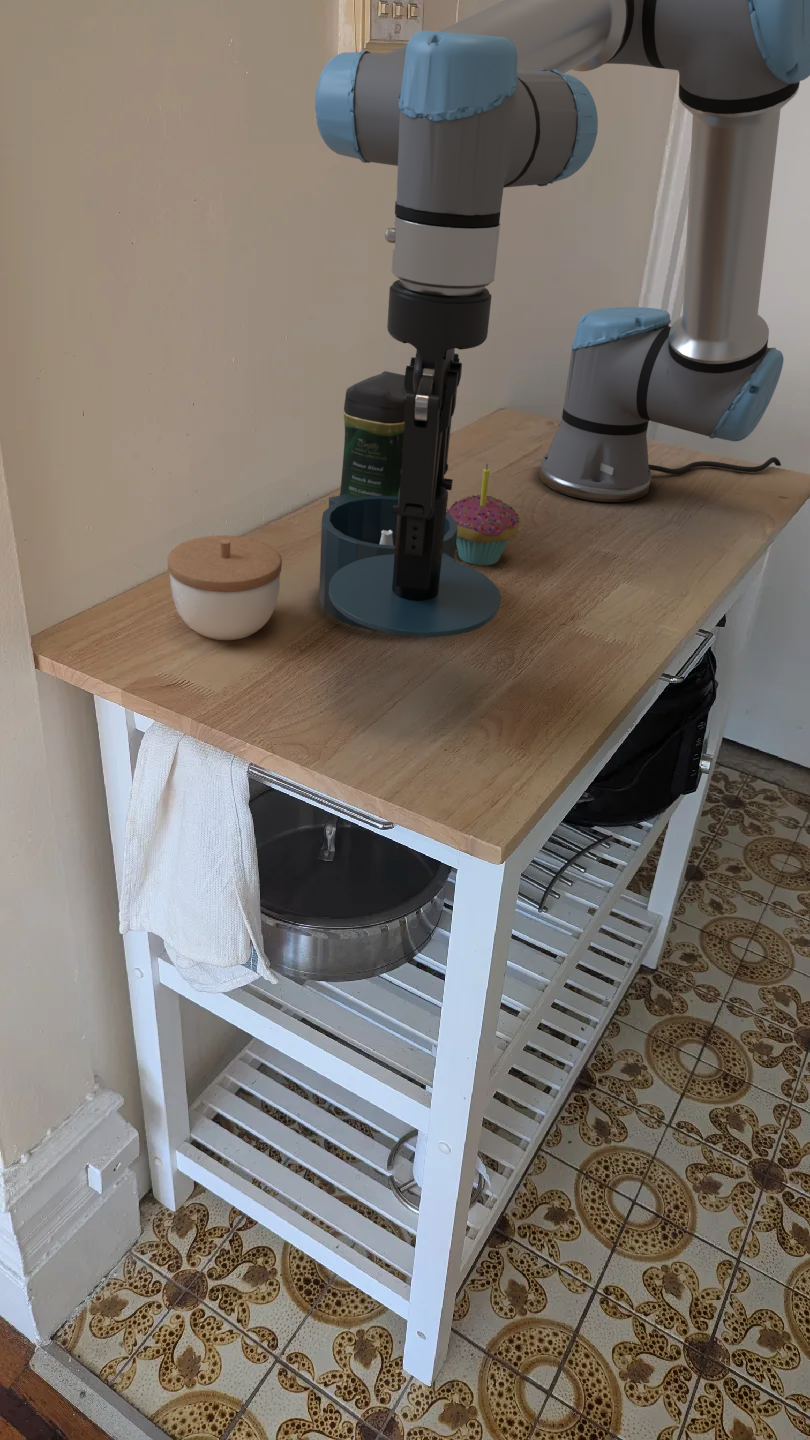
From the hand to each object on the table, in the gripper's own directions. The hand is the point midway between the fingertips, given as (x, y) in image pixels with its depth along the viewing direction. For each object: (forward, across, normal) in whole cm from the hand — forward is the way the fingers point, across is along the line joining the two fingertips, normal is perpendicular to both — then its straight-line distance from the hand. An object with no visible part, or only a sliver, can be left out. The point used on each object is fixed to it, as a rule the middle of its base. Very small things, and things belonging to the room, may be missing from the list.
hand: (416, 573), depth 90 cm
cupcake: (+13, -33, +3) cm, 36 cm away
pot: (+12, -17, -5) cm, 22 cm away
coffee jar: (+13, -36, -9) cm, 39 cm away
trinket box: (+12, -8, -19) cm, 24 cm away
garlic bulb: (+12, -18, -5) cm, 22 cm away
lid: (+2, 0, 0) cm, 2 cm away
